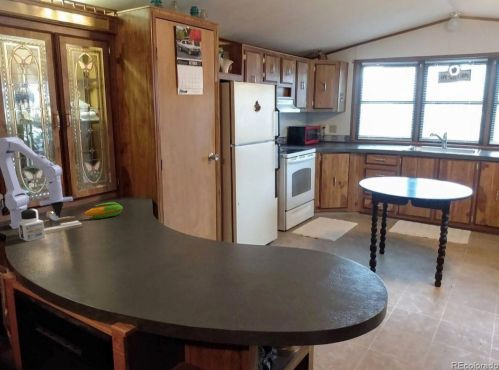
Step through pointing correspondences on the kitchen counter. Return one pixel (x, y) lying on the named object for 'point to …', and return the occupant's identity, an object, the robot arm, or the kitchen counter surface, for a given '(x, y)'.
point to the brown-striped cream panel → (61, 224)
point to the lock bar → (52, 215)
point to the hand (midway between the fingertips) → (58, 217)
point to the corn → (105, 210)
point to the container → (30, 225)
